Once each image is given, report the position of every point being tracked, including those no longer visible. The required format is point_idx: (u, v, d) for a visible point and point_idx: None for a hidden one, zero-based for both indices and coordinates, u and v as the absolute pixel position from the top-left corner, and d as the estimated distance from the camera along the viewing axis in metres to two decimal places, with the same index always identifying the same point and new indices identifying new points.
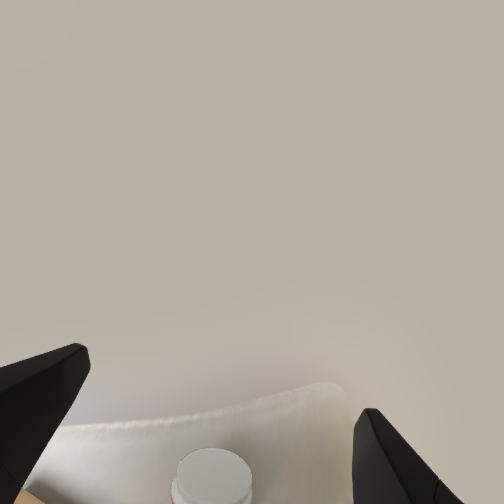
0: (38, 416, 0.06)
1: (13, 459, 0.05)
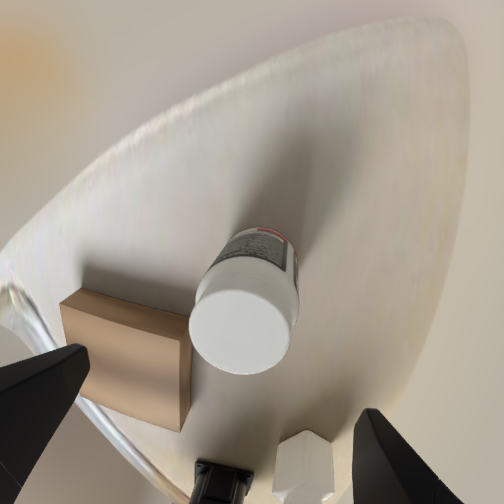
0: (38, 416, 0.06)
1: (13, 459, 0.05)
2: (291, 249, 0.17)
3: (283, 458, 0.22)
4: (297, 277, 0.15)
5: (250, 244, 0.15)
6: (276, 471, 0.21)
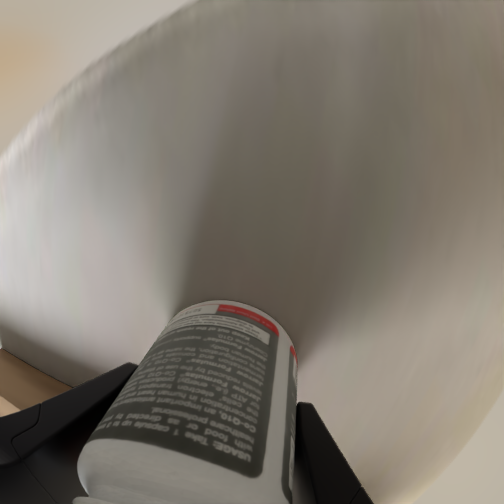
0: None
1: (67, 494, 0.05)
2: (285, 350, 0.08)
3: None
4: (294, 428, 0.06)
5: (185, 378, 0.06)
6: None
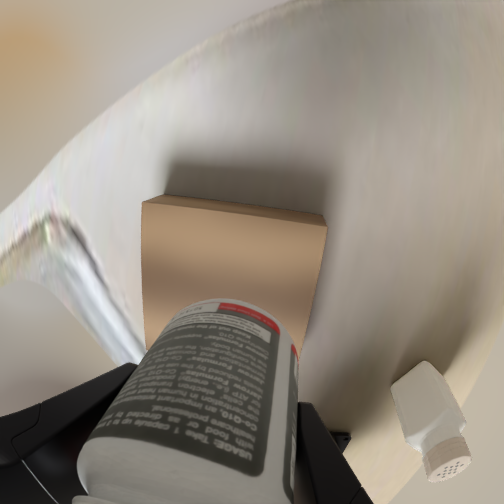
0: None
1: (67, 494, 0.05)
2: (286, 348, 0.08)
3: (407, 396, 0.18)
4: (295, 427, 0.06)
5: (185, 377, 0.06)
6: (402, 413, 0.18)
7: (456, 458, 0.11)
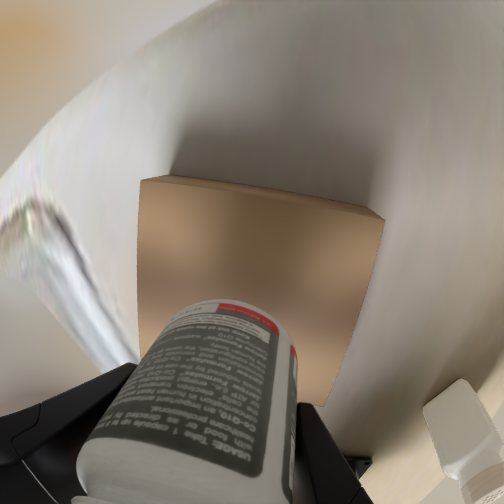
0: None
1: (67, 494, 0.05)
2: (285, 349, 0.08)
3: (443, 419, 0.14)
4: (294, 427, 0.06)
5: (184, 377, 0.06)
6: (438, 438, 0.14)
7: (500, 487, 0.07)
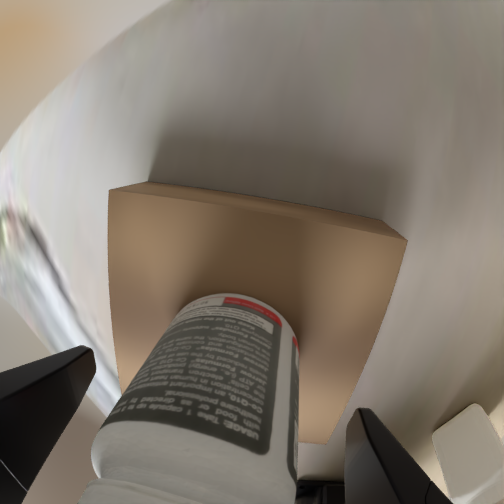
0: (44, 420, 0.06)
1: (18, 463, 0.05)
2: (288, 340, 0.09)
3: (454, 448, 0.12)
4: (297, 413, 0.07)
5: (195, 364, 0.06)
6: (448, 468, 0.11)
7: None
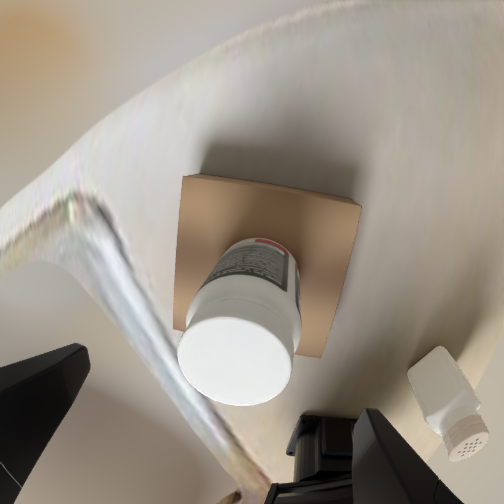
0: (38, 416, 0.06)
1: (13, 459, 0.05)
2: (292, 262, 0.16)
3: (424, 379, 0.19)
4: (299, 294, 0.14)
5: (247, 259, 0.13)
6: (420, 395, 0.18)
7: (476, 434, 0.12)
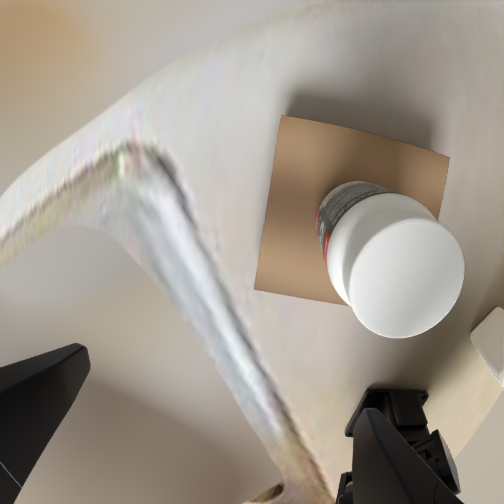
0: (38, 416, 0.06)
1: (13, 459, 0.05)
2: None
3: (490, 338, 0.17)
4: None
5: (379, 187, 0.12)
6: (489, 353, 0.17)
7: None
